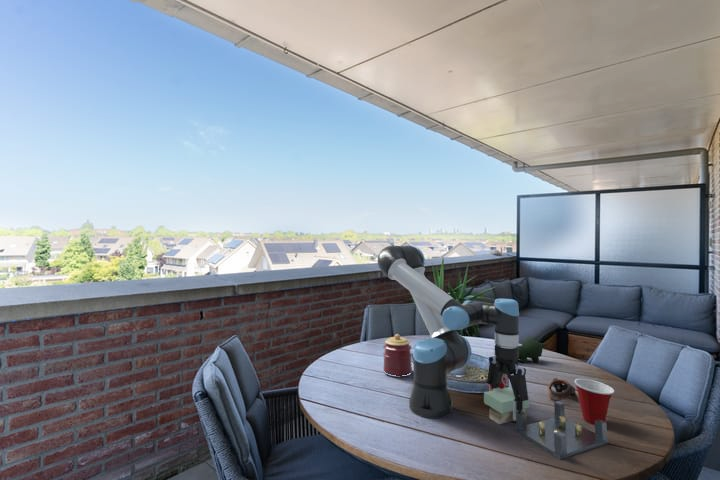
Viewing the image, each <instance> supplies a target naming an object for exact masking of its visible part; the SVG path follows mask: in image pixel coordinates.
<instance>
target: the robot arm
mask: <svg viewBox="0 0 720 480" xmlns="http://www.w3.org/2000/svg"><path fill="white" fill-rule="evenodd" d="M425 261H426V259H425V254H424V253H423V251H421V249H420V248H418V247H416V246H414V245H388V246H385V247H384V248H382V249H381V250H380V252H379V253H378V256H377V265H378V268H379V269H380V271H381V272H382V274H384V276H386V277H387V278H388V279H390V280H392V281H393V280H395V281H397V282H398V283H399V284H400V285H401V286H403V287H404V288H405V289H407V290H408V291H409V292H410V295H411V296H412V297H411V298H412V299H413V302H414V303H415V306H416V307H417V310H418V312H419V314H420V316H421V319H422V321H423V322H424V324H425V326H426V329H427V331H428V333H429V338H422V339H419V340H417V341H416V342H415V343H414V345H413V353H412V357H413V359H412V361H413V385H412V389H411V393H410V396H409V398H408V399H409V400H408V407H409V409H410V411H411V412H412V413H414V414H416V415H418V416H420V417H425V418H431V419H439V418H444V417H447V416H449V415H451V413H452V412H453V401H452V398H451V395H450V392H449V389H448V373H451V372H453V371H456V370H459V369H461V368H463V367H464V366H466V365H467V364H468V363H469V362H470V360H471V357H472V347H471V344H470V342H469V340H467V338H466V337H465V336H462V335H460V334H459V332H458V330H459V331H460V330H464V329H466V328H469V327H472V326H476V325H479V324H483V325H488V326H494V333H495V334H494V356H489V357H488V362H489V363H488V364H489V365H488V373H487V378H486V383H487V384H488V385H489V384H490V385H491V387H492V391H494V390H498V389H500V388H497V387H500V385H499V384H500V381H501V379H502V376H503V374H504V373H505V374H507V377H508V378H509V384H510V386H511V388H512V390H513V393H514V397H515V399H513V420H514V421H515V422H516V412H517V411H522V409H523V401H526V400H528V396H529V394H528V386H527V379H526V372H527V369H526V368H525V367H520V366H519V364H518V362H517V360H518V358H519V348H518V347H517V346H520V345H519V342H520V341H519V339H520V336H519V335H520V334H519V333H520V332H519V329H520V327H519V324H520V311H519V309H520V307H519V303H518V301H517V300H515V299H512V298H496V299H495V300H494V303H492V302H491V303H489V302H485V301H478V300H477V301H476V300H475V299H474V300H469V299H468V300H464V301H463V303H461V302H459V300H456V299H455V298H454V297H452V296H451V295H450V294H448V293H447V292H445V291H444V290H442V289H441V288H440V287H438V286H437V285H436V284H434V283H433V282H431V281H430V280H429V279H427V277H426V276H425V270H426V268H425ZM518 361H519V360H518Z"/></svg>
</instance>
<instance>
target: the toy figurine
mask: <svg viewBox="0 0 720 480" xmlns="http://www.w3.org/2000/svg"><path fill="white" fill-rule="evenodd" d="M494 335H495V332H494ZM547 345H548V343H546V342H545V343H544V342H540V341H538V340H535V339H533V338H528V339H526V340H524V341H522V343H521V345H518V346H517V347H518V348H519V358H518V360H517V363H518V362H519V360H521V361H522V362H523V363H527V362H528V360H529V359H531V361H532V362H534V363H538V362H539V361H540V357H542V354H543V349H544V348H545V347H547Z"/></svg>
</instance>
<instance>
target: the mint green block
mask: <svg viewBox="0 0 720 480" xmlns="http://www.w3.org/2000/svg"><path fill="white" fill-rule="evenodd" d="M513 399H515V397H514V393H513V390H512V386H511V387H510V386H509V387H508V388H503V389H498V390H494V391H489V390H488V391H485V392H483V403H484V404H485V405H487V406H489V407H490V408H494V409H495V410H497V411H498V412H500V413H502V414H503V413H507V412H511V411H513ZM530 401H531V400H530V396H529V395H528V400H526V401H523V409H524V408H527V409H528V408H530Z"/></svg>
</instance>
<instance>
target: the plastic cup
mask: <svg viewBox="0 0 720 480" xmlns="http://www.w3.org/2000/svg"><path fill="white" fill-rule="evenodd" d="M574 384H575V386H576V388H575V389H576V391H577V392H576V393H577V396H578V401H579V402H578V403H579V405H580V409H581V415H582V417H583V420H584V421H585V422H586V423H589V424H590V425H594V426H595V420H598V419H600V420H602V421H605V422H606V419H607V415H608V412H609V404H610V400H611V398H612V395H613V394H615V390H614V388H613V387H611V386H610V385H608V384H605V383H603V382H601V381H597V380H594V379H588V378H575V379H574Z"/></svg>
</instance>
